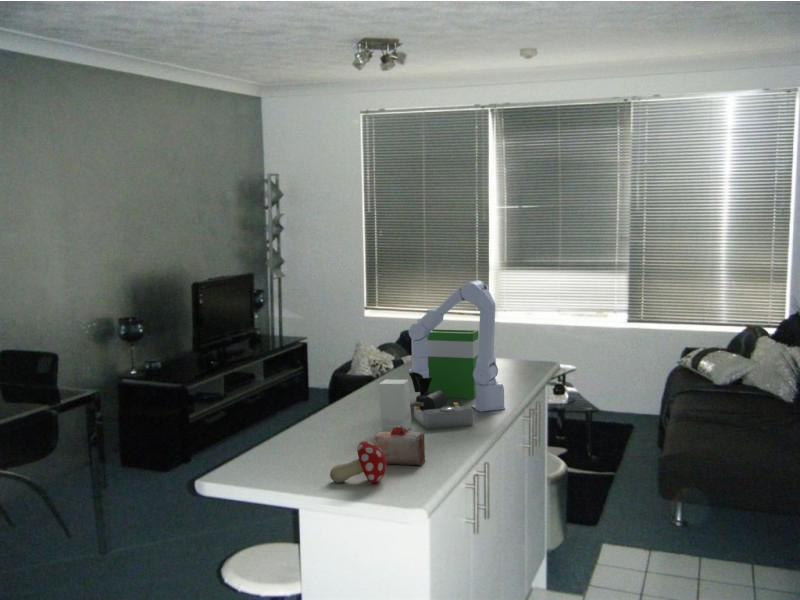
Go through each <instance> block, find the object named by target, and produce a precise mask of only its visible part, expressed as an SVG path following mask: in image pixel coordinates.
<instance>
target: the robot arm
mask: <svg viewBox="0 0 800 600" xmlns="http://www.w3.org/2000/svg"><path fill="white" fill-rule="evenodd" d="M463 301H465V302H466V301H467V302H468V303H470V304H473V305H474V306H475V307H476V308H477V309H478V310H479V326H478V327H479V328H478V332H479V354H478V358H477V361H476V367H475V369H474V371H473V378H474V380H475V392H476V398H475V404H471V407H472V408H474V409H475V410H476V411H478V412H488V411H489V412H490V411H497V410H499V411H500V410H505V409H506V407H505V388H504V385H503V383H502V382H501V381H497V379H496V377H497V376H498V373H499V369H498V366H497V363H496V362H497V359H496V356H495V355H494V353H495V352H494V351H495V350H494V349H495V331H496V330H495V329H496V328H495V327H496V323H495V322H496V302H495V300H494V298H493V297H492V293H490V291H489V286H488V285H487V284H486V283H485V282H483V281H481V280H477V279H475V280H472V281H470V282H465V283H464V284H463V285H462V286H460V287H458V288H457V289H456V290H455V291H454V292H453V293H451V294H450V296H448V297H447V298H446V299H445V301H443V303H441V304H440V305H439V307H437V308H436V307H435V308H431V309H430V308H428V309H427V310H426V311H425V313H426V314H424V315H423V316H422V317H421V318H418V319H417V320H416V322H417V323H413V324H411V325H410V326H409V329H408V336H409V337H410V339H411V368H409V369H408V375H409V377H410V379H411V380H412V381H411V382H412V385H413V390H414V393H419V395H425V394H424V393H425V392H427V391H428V389H429V385H430V383H431V381H432V377H429V368H428V343H427V337H428V335H429V333H430V332H432V330H433V329H435V328H436V327H437V326H439V325H440V324H441V323H442V322H444V315H445V314H446V313H448V312H449V311H450V310H452V308H454V307H455V306H457V305H458V304H459V303H460V302H463Z"/></svg>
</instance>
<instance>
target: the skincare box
mask: <svg viewBox="0 0 800 600" xmlns="http://www.w3.org/2000/svg"><path fill="white" fill-rule="evenodd" d="M378 395H379V408H380V409H379V410H380V412H379V413H380V423H381V424H380V425H381V427H380V428H381V432H385V431H386V432H387V431H392V429H393V428H396V427H398V428H399V427H400V426H401V425H402V427H403V428H404V429H406V430H407V431H409V430H410V429H411V428H412V414H411V412H412V411H411V399H410V397H411V395H410V383H409V379H388V378H387V379H384V380H383V381H381V382H380V383H378Z"/></svg>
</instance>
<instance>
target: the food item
mask: <svg viewBox="0 0 800 600" xmlns="http://www.w3.org/2000/svg"><path fill="white" fill-rule="evenodd" d="M374 442H375V445H376V446H378V447H379V448H380V449H381V450H382V452H383V453H384V455H385V458H386V465H402V466H403V465H405V466H417V467H418V466H422V465H424V463H425V461H426V453H425V448H426V447H425V433H424V432H418V431H416V432H415V431H408V430H406V429H404V428H403V427H402V425H401V426H400V427H399V428H398V427H396V428H393V429H392V431H379V432H378V433H376V435H375V436H374Z"/></svg>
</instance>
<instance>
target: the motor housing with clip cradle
mask: <svg viewBox="0 0 800 600" xmlns="http://www.w3.org/2000/svg"><path fill="white" fill-rule="evenodd" d="M419 406H420V405H416V406H413V417H414V419H415V420H417V421H418V422H419V423H420V424H421V425H422V426H423V427H425V428H426V429H427V430H435V429H445V428H456V427H464V426H465V427H466V426H473V425H474V411H473V410H474V409H473V408H471V407H470V406H468V405H466V406H465V405H463V406H460V405H459V403H458V402H452V406H450V405H449V406H448V405H447V406H446V405H445V406H444V407H441V409H431V410H423V412H422V411H421V410H420V407H419Z"/></svg>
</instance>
